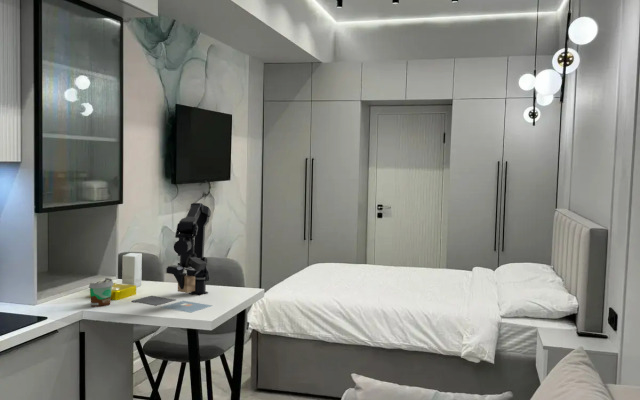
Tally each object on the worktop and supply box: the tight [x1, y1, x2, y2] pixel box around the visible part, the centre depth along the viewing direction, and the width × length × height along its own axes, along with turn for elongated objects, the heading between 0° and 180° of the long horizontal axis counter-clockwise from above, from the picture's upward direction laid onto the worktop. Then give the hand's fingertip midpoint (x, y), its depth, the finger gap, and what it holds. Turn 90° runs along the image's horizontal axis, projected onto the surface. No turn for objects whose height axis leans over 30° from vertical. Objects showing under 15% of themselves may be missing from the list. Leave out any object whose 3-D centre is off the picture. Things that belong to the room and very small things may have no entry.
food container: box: [88, 277, 114, 308], centre depth 242 cm, size 12×6×10 cm, turn 168°
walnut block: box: [177, 274, 195, 294], centre depth 245 cm, size 5×5×6 cm
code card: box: [161, 300, 213, 313], centre depth 243 cm, size 14×16×1 cm
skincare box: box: [121, 252, 143, 288], centre depth 278 cm, size 8×7×16 cm
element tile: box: [89, 282, 137, 301], centre depth 259 cm, size 15×15×5 cm
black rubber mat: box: [131, 295, 176, 307], centre depth 251 cm, size 12×14×1 cm
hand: (186, 287), depth 245 cm, fingers closed on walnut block, 5 cm apart
